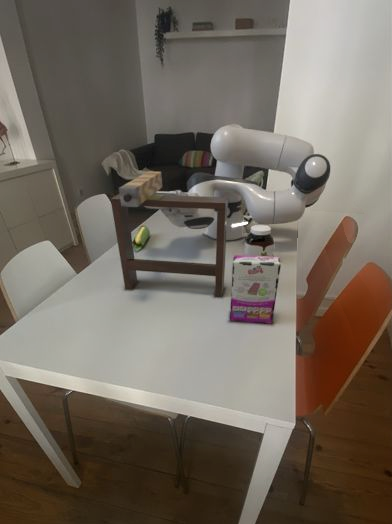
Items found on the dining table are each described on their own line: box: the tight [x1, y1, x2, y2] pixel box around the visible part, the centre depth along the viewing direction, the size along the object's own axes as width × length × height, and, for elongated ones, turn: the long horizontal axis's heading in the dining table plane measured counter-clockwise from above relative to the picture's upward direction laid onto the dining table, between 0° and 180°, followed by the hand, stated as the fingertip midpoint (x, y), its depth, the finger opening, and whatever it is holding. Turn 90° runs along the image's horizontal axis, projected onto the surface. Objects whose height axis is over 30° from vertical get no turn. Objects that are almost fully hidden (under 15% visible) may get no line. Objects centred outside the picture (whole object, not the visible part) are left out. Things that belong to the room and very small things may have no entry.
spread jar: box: [243, 224, 276, 256], centre depth 113 cm, size 12×11×12 cm
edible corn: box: [132, 225, 151, 252], centre depth 129 cm, size 5×20×5 cm, turn 178°
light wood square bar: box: [118, 170, 163, 208], centre depth 82 cm, size 23×4×4 cm, turn 169°
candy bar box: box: [229, 254, 282, 325], centre depth 80 cm, size 11×5×16 cm, turn 82°
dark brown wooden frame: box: [110, 193, 228, 298], centre depth 90 cm, size 6×30×26 cm, turn 79°
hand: (162, 191), depth 98 cm, fingers open, 8 cm apart
